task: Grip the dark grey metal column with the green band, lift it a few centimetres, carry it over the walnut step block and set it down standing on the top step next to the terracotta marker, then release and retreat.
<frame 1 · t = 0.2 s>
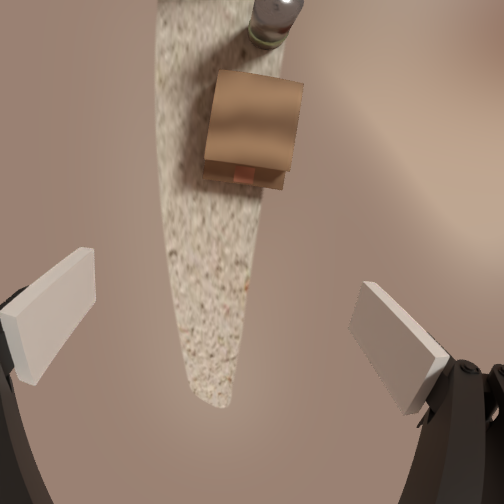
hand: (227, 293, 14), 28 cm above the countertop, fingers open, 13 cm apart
column: (266, 34, 33), on the countertop
step block: (250, 126, 37), on the countertop
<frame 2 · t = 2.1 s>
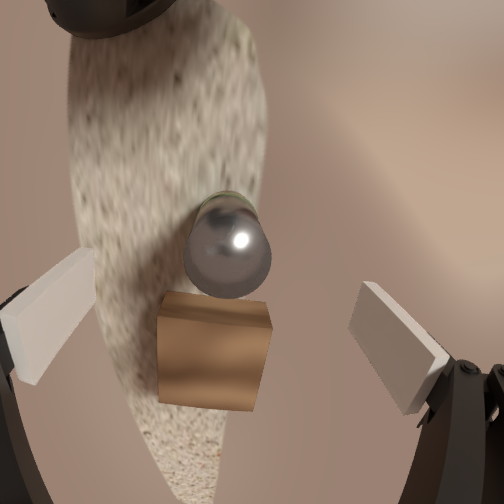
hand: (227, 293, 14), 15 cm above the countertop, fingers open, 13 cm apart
column: (226, 218, 28), on the countertop
step block: (210, 345, 32), on the countertop
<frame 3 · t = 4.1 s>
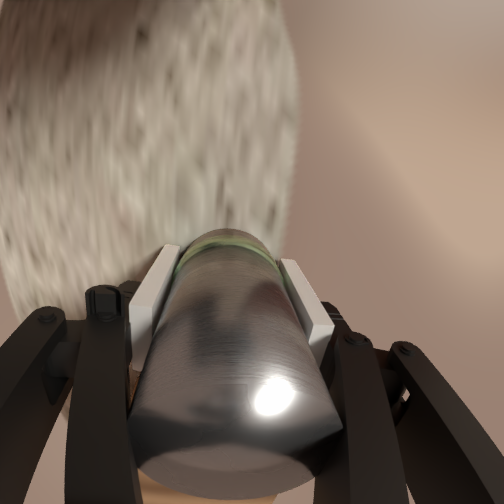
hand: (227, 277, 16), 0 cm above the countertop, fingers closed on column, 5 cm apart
column: (227, 275, 16), on the countertop, touching gripper
step block: (207, 438, 20), on the countertop
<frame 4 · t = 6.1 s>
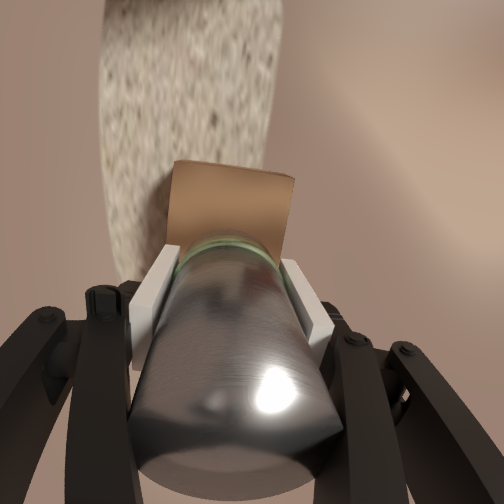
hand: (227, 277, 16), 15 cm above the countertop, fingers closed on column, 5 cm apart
column: (227, 275, 16), point 15 cm above the countertop, touching gripper
step block: (224, 225, 31), on the countertop
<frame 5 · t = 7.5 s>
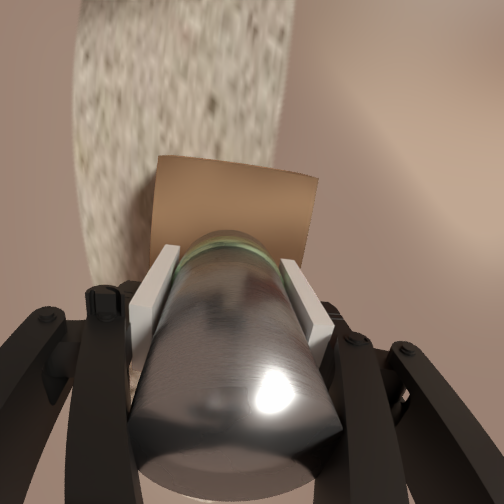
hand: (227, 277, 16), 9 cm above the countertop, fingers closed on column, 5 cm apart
column: (227, 275, 16), point 9 cm above the countertop, touching gripper
step block: (225, 237, 24), on the countertop
when the fingers open (7 cm above the countertop, at t = 8.3 s): column drops 1 cm, resting on step block.
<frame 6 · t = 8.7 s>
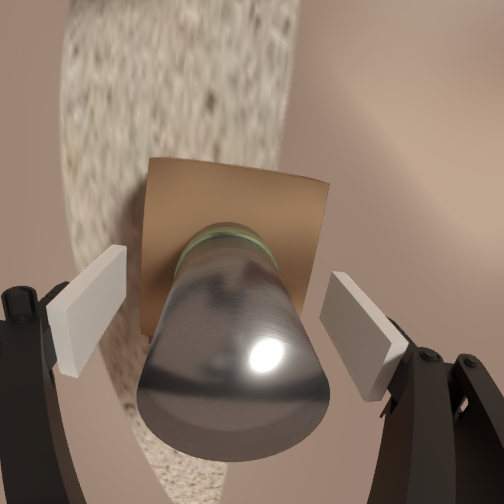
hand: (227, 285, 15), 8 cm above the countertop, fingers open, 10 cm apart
column: (226, 265, 17), point 5 cm above the countertop, touching step block
step block: (225, 247, 22), on the countertop
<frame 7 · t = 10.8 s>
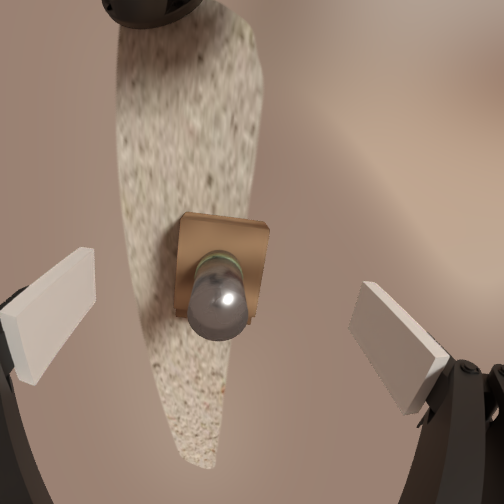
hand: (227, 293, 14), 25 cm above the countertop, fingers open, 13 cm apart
column: (219, 270, 35), point 5 cm above the countertop, touching step block
step block: (219, 261, 40), on the countertop
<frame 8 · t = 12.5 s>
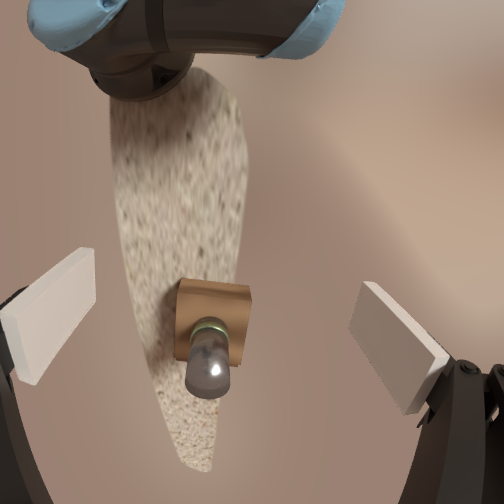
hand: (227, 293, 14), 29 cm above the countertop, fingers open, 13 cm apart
column: (210, 331, 41), point 5 cm above the countertop, touching step block
step block: (211, 316, 46), on the countertop
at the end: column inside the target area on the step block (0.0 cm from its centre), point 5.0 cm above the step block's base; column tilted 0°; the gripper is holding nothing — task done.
